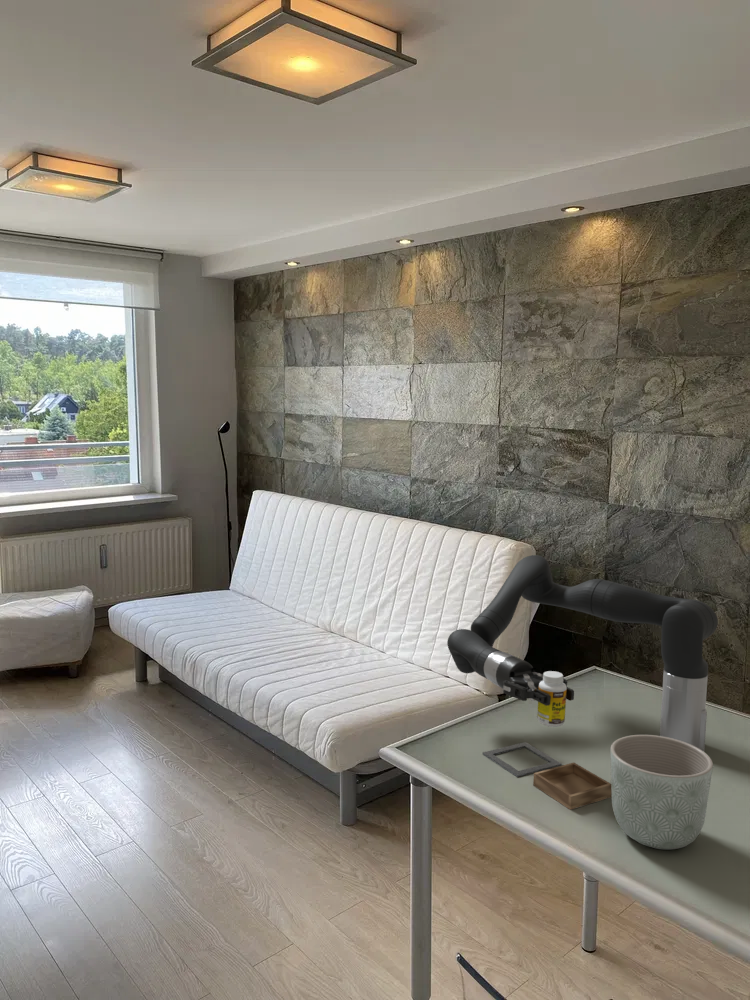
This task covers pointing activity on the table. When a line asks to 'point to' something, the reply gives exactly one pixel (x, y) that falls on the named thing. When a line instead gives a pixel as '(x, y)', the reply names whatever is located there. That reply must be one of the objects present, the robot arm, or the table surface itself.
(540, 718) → the supplement bottle
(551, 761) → the grey square frame
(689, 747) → the planter
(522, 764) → the table surface
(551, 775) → the tray
